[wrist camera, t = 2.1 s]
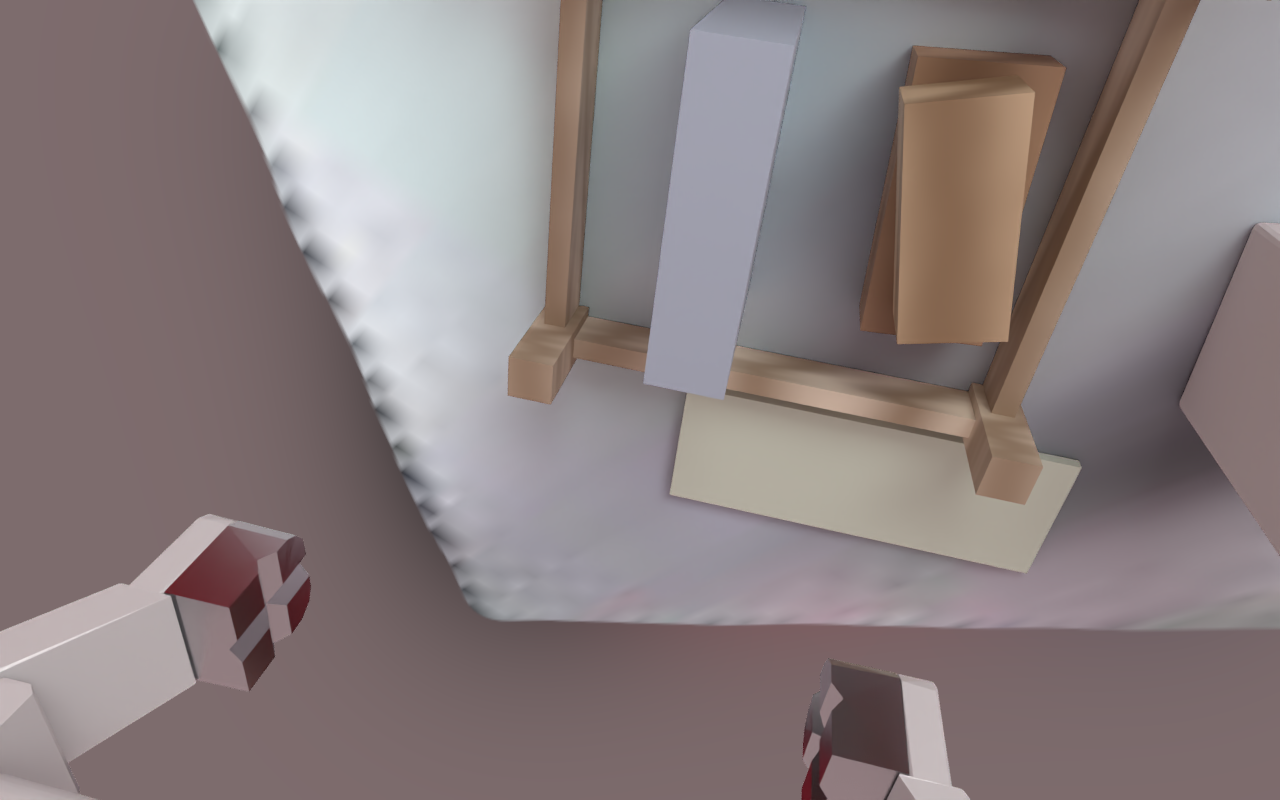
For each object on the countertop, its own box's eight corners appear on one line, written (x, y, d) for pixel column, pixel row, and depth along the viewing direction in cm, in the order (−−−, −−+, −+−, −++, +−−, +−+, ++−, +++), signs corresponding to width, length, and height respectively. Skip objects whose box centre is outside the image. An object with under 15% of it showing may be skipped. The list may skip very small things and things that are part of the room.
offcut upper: (1017, 75, 28) (1034, 92, 26) (995, 308, 33) (1007, 341, 30) (898, 86, 29) (904, 104, 27) (892, 311, 34) (896, 344, 31)
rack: (1222, -84, 27) (1310, -81, 22) (1000, 426, 38) (1024, 505, 33) (575, -167, 29) (521, -181, 24) (547, 334, 41) (507, 395, 36)
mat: (1078, 460, 38) (1081, 467, 38) (1024, 565, 42) (1026, 573, 42) (689, 380, 41) (687, 386, 40) (671, 487, 44) (669, 494, 44)
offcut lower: (1048, 54, 30) (1066, 67, 28) (972, 315, 36) (981, 346, 34) (912, 43, 31) (918, 56, 29) (859, 301, 37) (860, 330, 35)
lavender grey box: (806, 6, 31) (795, 45, 23) (748, 288, 37) (723, 400, 29) (729, -6, 31) (690, 29, 23) (685, 276, 38) (643, 383, 29)
